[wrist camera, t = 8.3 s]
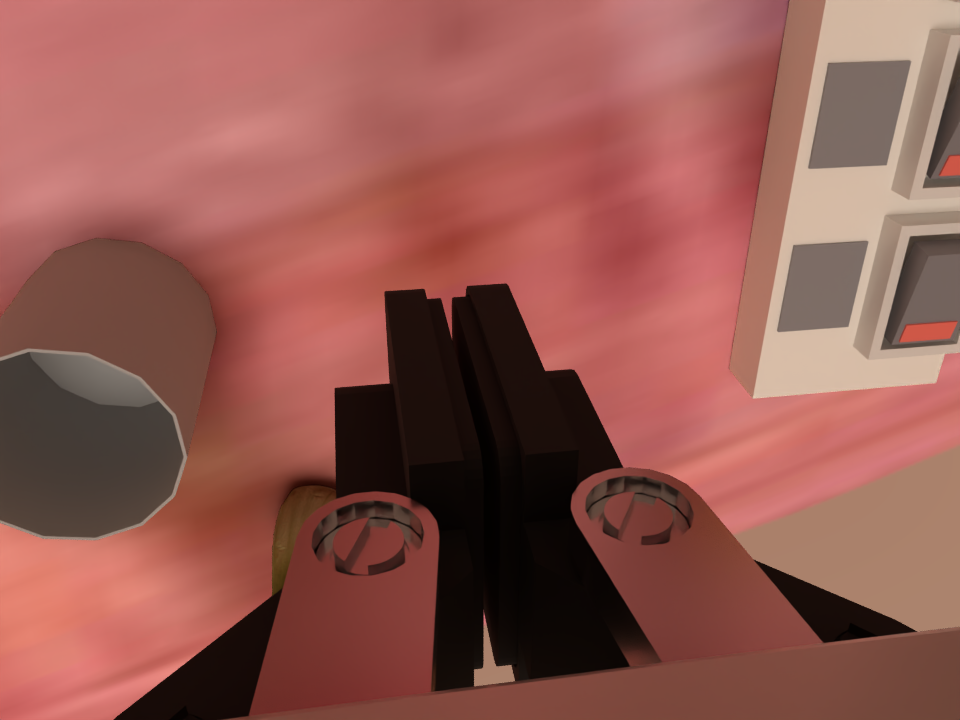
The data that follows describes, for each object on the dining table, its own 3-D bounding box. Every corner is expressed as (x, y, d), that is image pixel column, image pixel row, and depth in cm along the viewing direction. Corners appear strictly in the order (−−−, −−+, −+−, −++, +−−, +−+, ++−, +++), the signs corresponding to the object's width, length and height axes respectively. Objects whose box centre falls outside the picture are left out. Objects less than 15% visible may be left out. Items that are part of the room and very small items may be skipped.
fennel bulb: (266, 475, 45) (248, 656, 35) (360, 461, 46) (370, 636, 35) (285, 558, 48) (274, 748, 38) (374, 545, 48) (386, 729, 38)
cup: (219, 250, 39) (189, 360, 30) (214, 406, 43) (185, 543, 34) (13, 229, 37) (-82, 340, 28) (27, 394, 41) (-54, 535, 32)
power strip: (836, -283, 32) (903, -302, 28) (1077, -277, 34) (1173, -295, 30) (728, 368, 46) (764, 413, 42) (903, 354, 47) (952, 397, 44)
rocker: (914, 241, 39) (929, 256, 38) (979, 237, 39) (996, 252, 38) (878, 329, 42) (892, 346, 41) (939, 325, 43) (954, 341, 42)
